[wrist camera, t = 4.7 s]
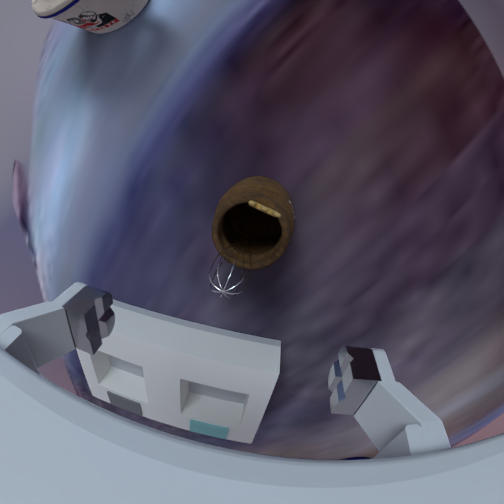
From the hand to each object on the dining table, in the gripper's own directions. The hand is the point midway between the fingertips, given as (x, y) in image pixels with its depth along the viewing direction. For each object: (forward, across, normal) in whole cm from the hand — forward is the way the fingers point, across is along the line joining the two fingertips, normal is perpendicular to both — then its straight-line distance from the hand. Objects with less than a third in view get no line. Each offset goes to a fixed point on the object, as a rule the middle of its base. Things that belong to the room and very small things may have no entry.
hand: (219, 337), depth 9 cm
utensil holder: (+17, 0, 0) cm, 17 cm away
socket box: (+17, +7, +22) cm, 28 cm away
